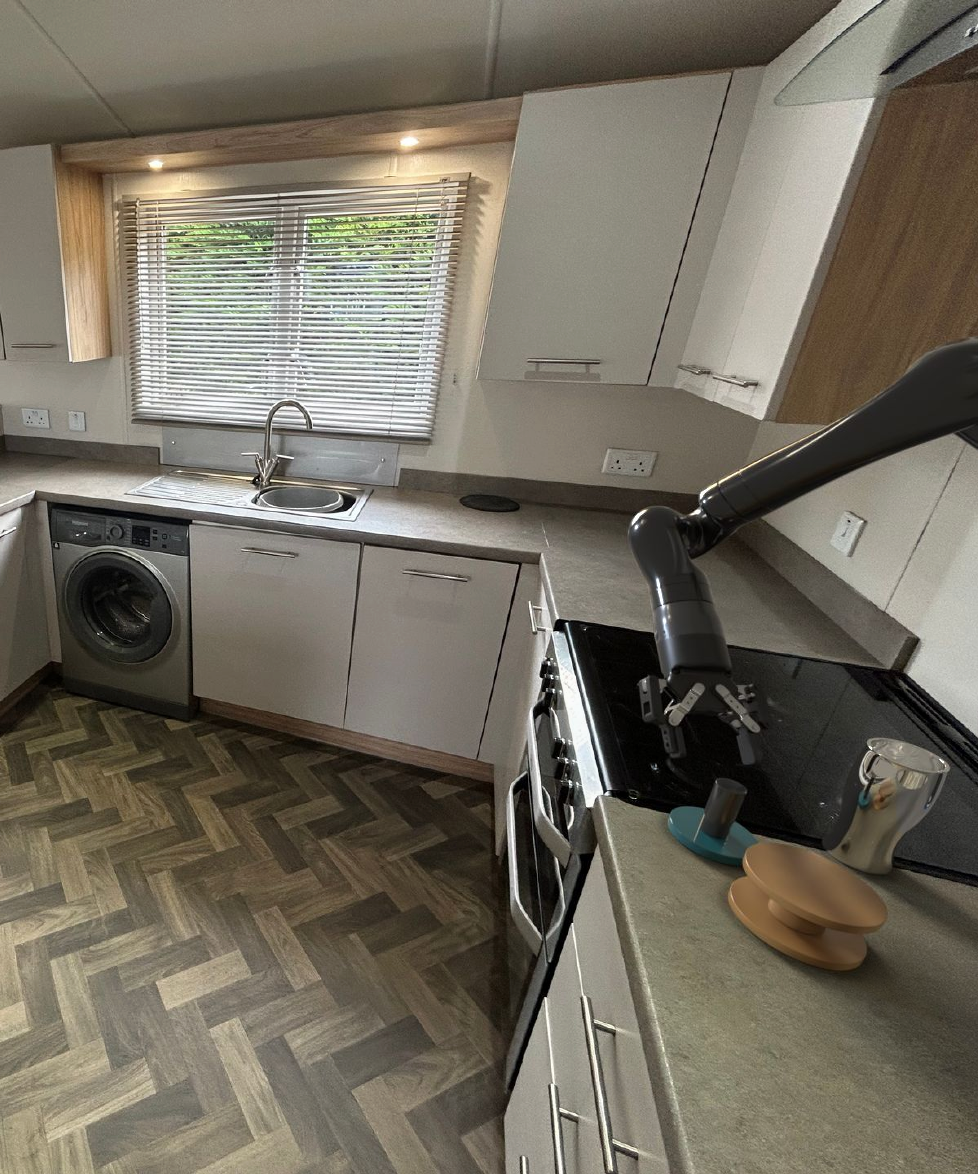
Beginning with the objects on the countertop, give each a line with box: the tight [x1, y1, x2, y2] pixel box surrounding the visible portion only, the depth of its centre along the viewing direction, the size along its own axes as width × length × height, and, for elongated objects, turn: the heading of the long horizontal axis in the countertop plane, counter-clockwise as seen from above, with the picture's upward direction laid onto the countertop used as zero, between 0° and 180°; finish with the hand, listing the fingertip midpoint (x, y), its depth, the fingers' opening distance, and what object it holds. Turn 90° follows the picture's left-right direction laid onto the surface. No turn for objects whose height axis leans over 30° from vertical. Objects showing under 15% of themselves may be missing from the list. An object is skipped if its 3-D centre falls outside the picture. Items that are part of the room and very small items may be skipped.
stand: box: [727, 842, 889, 972], centre depth 67 cm, size 11×11×6 cm
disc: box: [667, 777, 759, 866], centre depth 78 cm, size 9×9×8 cm
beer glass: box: [821, 737, 951, 876], centre depth 74 cm, size 7×7×15 cm
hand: (715, 761), depth 79 cm, fingers open, 8 cm apart
